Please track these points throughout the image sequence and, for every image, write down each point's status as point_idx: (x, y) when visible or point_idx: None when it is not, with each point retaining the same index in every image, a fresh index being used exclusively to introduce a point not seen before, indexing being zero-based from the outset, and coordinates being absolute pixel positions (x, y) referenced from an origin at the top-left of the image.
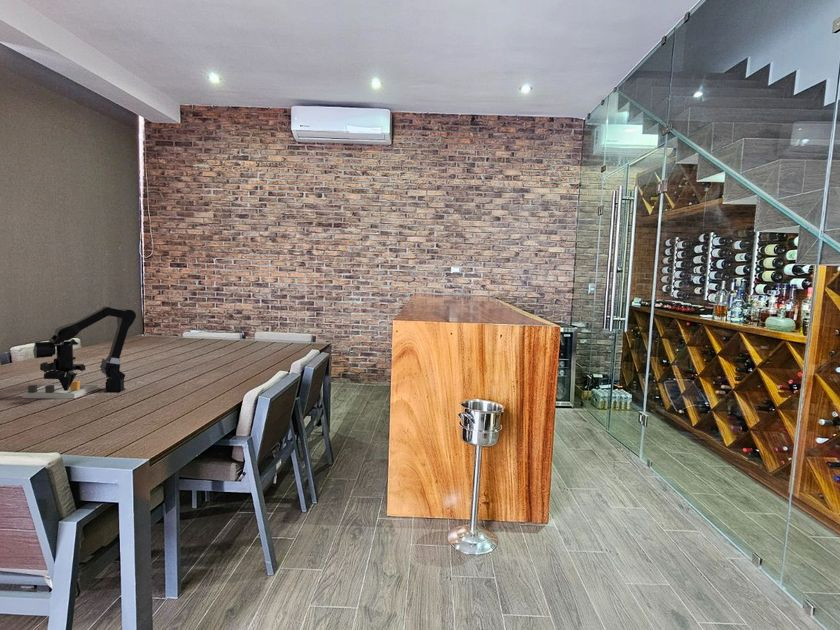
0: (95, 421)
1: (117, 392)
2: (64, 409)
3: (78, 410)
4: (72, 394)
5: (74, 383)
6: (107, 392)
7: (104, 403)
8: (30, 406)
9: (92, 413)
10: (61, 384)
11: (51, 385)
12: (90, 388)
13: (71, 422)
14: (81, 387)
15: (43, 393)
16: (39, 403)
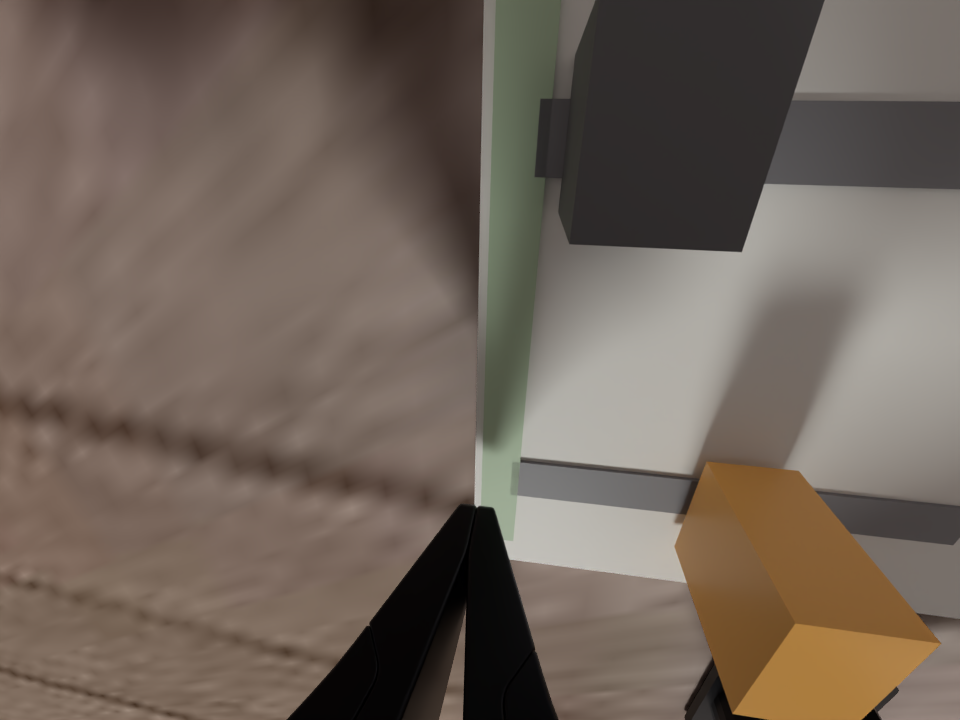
0: (77, 695)
1: (687, 715)
2: (158, 544)
3: (178, 614)
4: None
5: (735, 641)
6: (712, 668)
7: None
8: (80, 196)
9: (163, 672)
10: (378, 612)
11: (684, 193)
12: None
13: (7, 636)
14: (909, 527)
15: (494, 59)
16: (229, 223)
